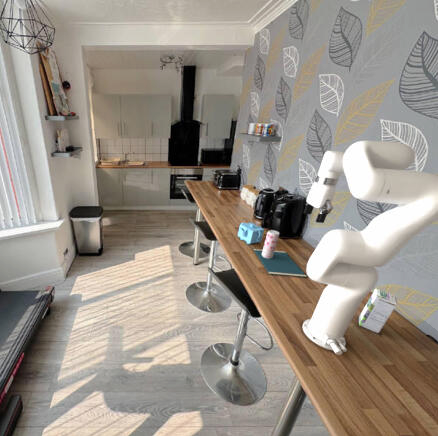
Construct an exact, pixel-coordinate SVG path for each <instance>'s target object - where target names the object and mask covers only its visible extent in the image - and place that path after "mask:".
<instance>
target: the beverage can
mask: <svg viewBox="0 0 438 436" xmlns="http://www.w3.org/2000/svg"><path fill="white" fill-rule="evenodd" d="M279 237H280V232H279V231H277V230H274V229H269V230H268V231H267V233H266V236H265V240H264V244H263V248H262V250H263V251H262V256H263V257H265V258H268V259H270V258H272V257H273V254H274V251H276V247H277V244H278V240H279Z"/></svg>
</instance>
